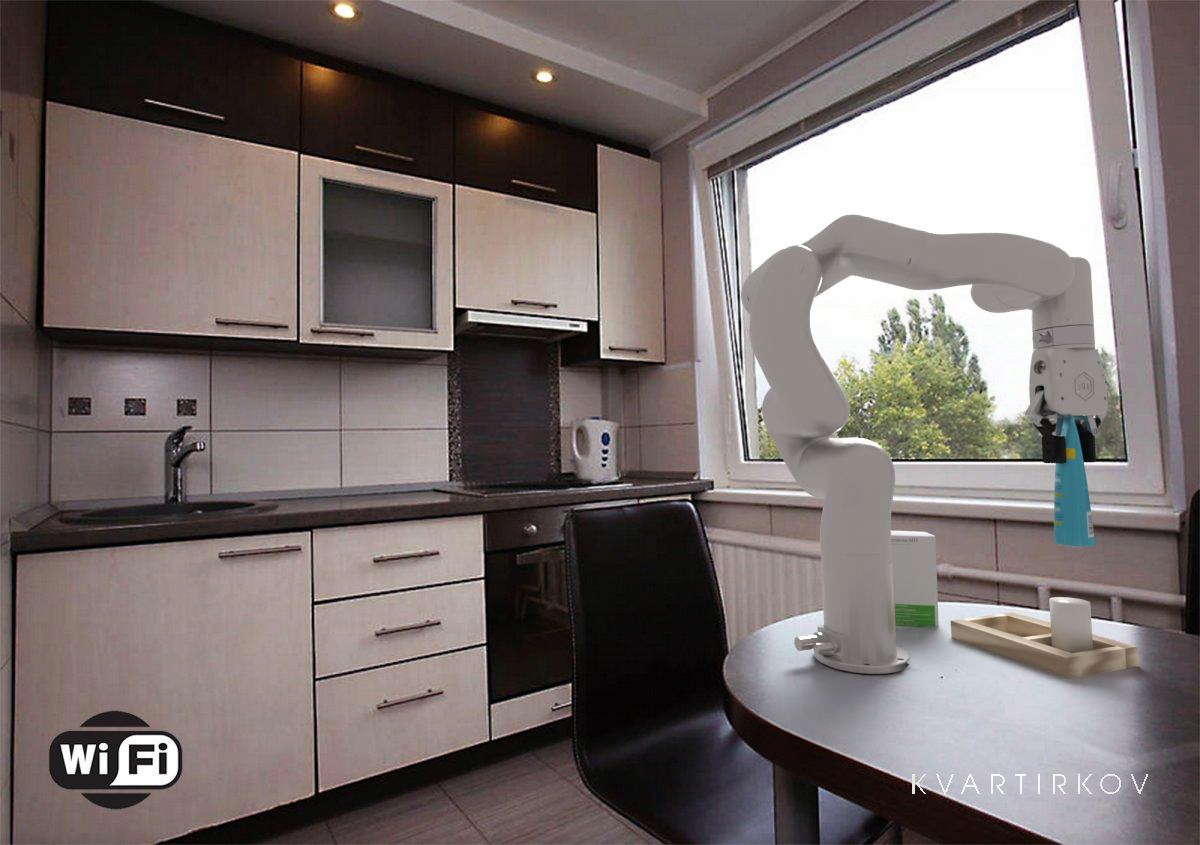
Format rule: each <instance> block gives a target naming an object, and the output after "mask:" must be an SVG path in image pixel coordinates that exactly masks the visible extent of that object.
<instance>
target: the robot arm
mask: <svg viewBox="0 0 1200 845" xmlns="http://www.w3.org/2000/svg"><path fill="white" fill-rule="evenodd" d="M852 276H854V277H860V278H864V279H868V280H872V281H876V282H881V283H885V284H888V285H893V286H895V287H900V288H904V289H908V290H912V291H927V290H928V291H929V290H930V291H931V290H943V289H948V288H953V287H954V288H955V287H959V286H969V285H970V290H969V291H970V296H971V299H972V301H973V303H974V304H975V306H977V307H978V308H980V309H982V311H985V312H989V313H995V314H998V313H999V314H1001V313H1002V314H1003V313H1009V312H1017V311H1023V310H1025V311H1026V310H1029V311H1030V312H1031V313H1030V314H1031V330H1032V334H1031V335H1032V349H1033V350H1032V351H1033V352H1032V353H1031V360H1030V365H1029V366H1030V368H1029V386H1028V390H1029V405H1028V407H1027V408H1026V410H1025V413H1024V415H1025V417H1026V418H1027V419H1028V420H1029V421H1030V422H1031V423H1032V424H1033V426H1034V428H1035V429H1036V430H1037V435H1038V436H1039V437H1041V450H1042V451H1041V453H1042V455H1041V456H1042V463H1044V464H1056V463H1059V464H1062V463H1066V447H1065V436H1060V435H1061V432H1062V427H1063V421H1064V417H1068V416H1073V419H1074V422H1075V425H1076V428H1077V431H1078V435H1079V440H1080V445H1081V450H1082V455H1083V461H1084V463H1096V461H1097V455H1096V450H1097V449H1096V436H1097V435H1098V434H1099V433H1098V432H1099V430H1098V429H1099V427H1100V426H1101V423H1102V421H1103V420H1104V419H1105V418H1106V417H1107V415H1108V407H1109V406H1108V405H1109V403H1108V393H1107V384H1106V376H1105V371H1104V367H1103V362H1102V358H1101V355H1100V353H1099V350H1098V348H1097V349H1096V339H1095V338H1096V337H1095V322H1094V321H1095V320H1094V305H1093V304H1094V302H1093V301H1094V299H1093V284H1092V283H1093V282H1092V267H1091V264H1090V262H1089V261H1088V260H1087V259H1086V258H1085V257H1080V256H1070V255H1069V254H1068V253H1067V252H1066V251H1065V250H1063V249H1062V248H1060V247H1058V246H1056V245H1055V244H1053V243H1050V242H1047V241H1044V240H1040V239H1035V238H1032V237H1028V236H1024V235H1019V234H1015V233H1012V234H1011V233H1005V232H935V231H932V230H931V231H930V230H927V229H922V228H919V227H915V226H910V225H907V224H902V223H901V222H900V223H899V222H895V221H891V220H888V219H884V218H880V217H876V216H871V215H868V214H863V213H856V212H855V213H854V212H853V213H846V214H842V215H841V216H838V217H837V218H835V219H833V220H832V221H831V222H830V223H828V224H827V225H826V226H824V227H823V228H821V230H819V231H818V232H817V233H815V234H813V236H811V237H810V238H809V239H807V240H806V241H804V242H803V243H802V244H799V245H797V244H796V245H789V246H786V247H784V248H782V249H780V250H778V251H776V252H775V253H773V254H772V255H771V256H770V257H768V258H767V259H766V260H765V261H763V263H761V264H760V265H759V266H758V267H757V268H755V270H753V271H752V272H751V273H750V274H749V275H748V276H747V278H746V279H745V280H744V282H743V284H742V287H741V291H740V297H741V298H740V300H741V303H742V304H741V305H743V308H744V310H745V311H746V312H747V314H749V315H750V317H749V337H750V338H749V339H750V343H751V348H752V351H753V354H754V356H755V358H756V361H757V363H758V365H759V367H760V369H761V371H762V373H763V375H764V378H765V380H766V381H767V383H768V386H770V387H769V389H768V390H767V392H766V393H765V395H764V397H763V400H762V405H761V414H762V421H763V423H764V426H765V428H766V431H767V433H768V435H769V436H770V439H771V440H772V442H773V444H774V446H775V447H776V449H777V451H778V453H779V454H780V456H781V458H782V460H783V462H784V463H785V465H786V468H788V471H789V472H790V474H791V475H792V477H793V478H794V481H795V482H796V483H797V485H798V486H799V487H800V488H801V489H802V490H803V491H804V492H805V493H806V494H808V495H810V496H811V497H815V498H816V499H820V500H824V501H823V506H822V513H821V518H820V524H819V546H820V559H821V560H820V562H821V563H820V564H821V566H820V568H821V584H822V585H821V586H822V587H821V588H822V607H823V608H822V609H823V624H822V625H820V624H819V625H817V631H816V632H814V633H813V634H812V635H800V636H799V635H798V636H796V637H795V638H794V642H793V644H794V647H795V649H796V650H797V651H798V652H801V651H808V650H812V649H813V655H814V657H815V659H816V660H817V661H818V662H820V663H821V664H824V665H825V666H827V667H830V668H832V669H836V670H840V671H845V672H849V673H856V674H868V675H884V674H885V675H886V674H893V673H897V672H901V671H903V670H905V669H907V668H909V666H910V663H908V662H909V661H910V655H909V653H908V652H907V651H906V650H905V649H903V648H901V647H899V646H897V632H896V631H897V630H896V623H895V603H894V582H893V562H892V546H891V531H892V508H893V500H894V493H895V487H896V486H895V485H896V470H895V466H894V462H893V461H892V458H891V456H890V455H889V453H888V452H887V451H886V450H885V449H884V448H883V447H882V446H881V445H880V444H878V443H876V442H874V441H871V440H869V439H867V438H861V437H838V436H837V434H836V433H837V432H839V431H841V430H842V429H843V427H845V425H846V424H847V422H848V420H849V418H850V413H851V412H850V410H851V409H850V408H851V407H850V403H849V399H848V396H847V394H846V392H845V391H844V389H843V387H842V386H841V384H840V382H839V380H838V379H837V377H836V376H835V373H834V371H833V369H832V368H831V366H830V365H829V363H828V361H827V359H826V357H825V355H824V354H823V352H822V350H821V348H820V346H819V344H818V342H817V340H816V337H815V335H814V333H813V332H814V331H813V329H812V322H811V319H812V318H811V315H812V314H811V313H812V308H813V304H814V300H815V298H817V297H818V296H820V295H821V294H823V293H824V292H826V291H828V290H829V289H831V288H833V287H834V286H835V285H837V284H838V283H840V282H842V281H844V280H845V279H848V278H850V277H852ZM1051 421H1053V423H1052V422H1051ZM1081 421H1082V423H1081Z"/></svg>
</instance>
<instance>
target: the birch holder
mask: <svg viewBox="0 0 1200 845" xmlns="http://www.w3.org/2000/svg"><path fill="white" fill-rule="evenodd" d="M950 633H951V634H950V636H951V638H952V639H955V640H958V641H960V642H963V643H966V644H968V645H971V646H974V647H977V648H980V649H983V650H986V651H988V652H992V653H995V654H997V655H999V656H1003V657H1005V658H1009V659H1011V660H1014V661H1016V662H1020V663H1022V664H1026V665H1029V666H1031V667H1033V668H1037V669H1040V670H1043V671H1045V672H1048V673H1050V674H1053V675H1056V676H1060V677H1062V678H1065V679H1073V678H1074V679H1075V678H1079V677H1085V676H1092V675H1098V674H1103V673H1109V672H1114V671H1120V670H1125V669H1126V670H1127V669H1133V668H1138V667H1140V663H1139V653H1138V652H1139V648H1138V646H1136V645H1133V644H1130V643H1129V644H1128V643H1126V642H1122V641H1118V640H1114V639H1111V638H1107V637H1104V636H1101V635H1100V636H1099V635H1097V634H1093V633H1092V640H1093V650H1090V651H1084V652H1077V653H1070V652H1067V651H1063V650H1060V649H1057V648H1054V647H1052V640H1051V622H1048V621H1045V620H1042V619H1038V618H1034V617H1030V616H1026V615H1025V614H1020V613H1015V612H1006V613H1000V614H992V615H983V616H975V617H966V618H962V619H961V618H959V619H953V620H950Z"/></svg>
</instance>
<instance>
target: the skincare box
mask: <svg viewBox="0 0 1200 845" xmlns="http://www.w3.org/2000/svg"><path fill="white" fill-rule="evenodd" d="M891 546H892V562H893V582H894V603H895V623H896V631H898V630H899V631H902V630H909V629H915V628H924V627H939V622H940V621H939V600H938V599H939V596H938V592H939V591H938V571H937V540H936V535H934V534H931V533H928V532H926V531H917V530H916V531H913V530H911V531H910V530H909V531H908V530H891Z"/></svg>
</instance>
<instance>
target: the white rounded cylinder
mask: <svg viewBox="0 0 1200 845" xmlns="http://www.w3.org/2000/svg"><path fill="white" fill-rule="evenodd" d="M1048 603H1049V617H1050V618H1049V619H1050V622H1049V623H1051V640H1052V647H1054V648H1057V649H1060V650H1063V651H1067V652H1070V653H1077V652H1084V651H1090V650H1093V640H1092V634H1093V624H1092V612H1091V610H1092V609H1091V608H1092V606H1091V602H1090V601H1088V600H1085V599H1081V598H1075V597H1069V596H1068V597H1067V596H1065V597H1063V596H1057V597H1056V596H1054V597H1050V598H1049V602H1048Z"/></svg>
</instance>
